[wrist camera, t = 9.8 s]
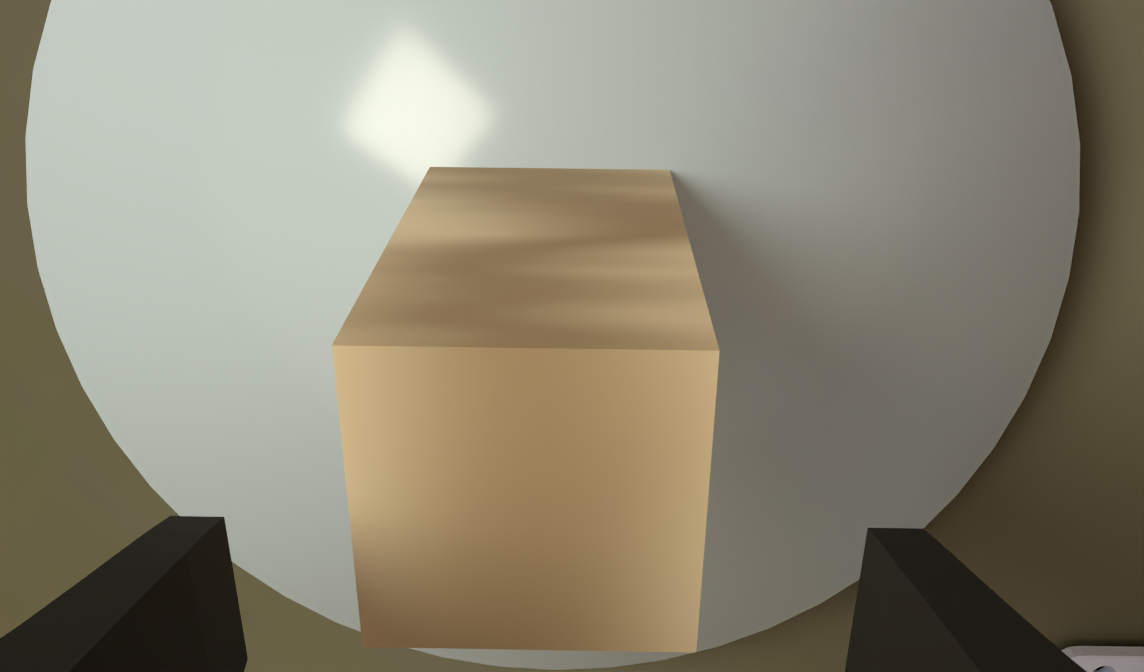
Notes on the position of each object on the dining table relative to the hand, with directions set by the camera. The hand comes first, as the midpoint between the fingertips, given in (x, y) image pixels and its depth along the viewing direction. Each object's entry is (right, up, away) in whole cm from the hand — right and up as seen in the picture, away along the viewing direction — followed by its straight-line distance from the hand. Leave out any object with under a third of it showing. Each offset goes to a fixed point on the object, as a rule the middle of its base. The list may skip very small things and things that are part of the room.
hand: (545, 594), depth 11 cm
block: (0, +4, +6) cm, 7 cm away
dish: (0, +5, +7) cm, 8 cm away
